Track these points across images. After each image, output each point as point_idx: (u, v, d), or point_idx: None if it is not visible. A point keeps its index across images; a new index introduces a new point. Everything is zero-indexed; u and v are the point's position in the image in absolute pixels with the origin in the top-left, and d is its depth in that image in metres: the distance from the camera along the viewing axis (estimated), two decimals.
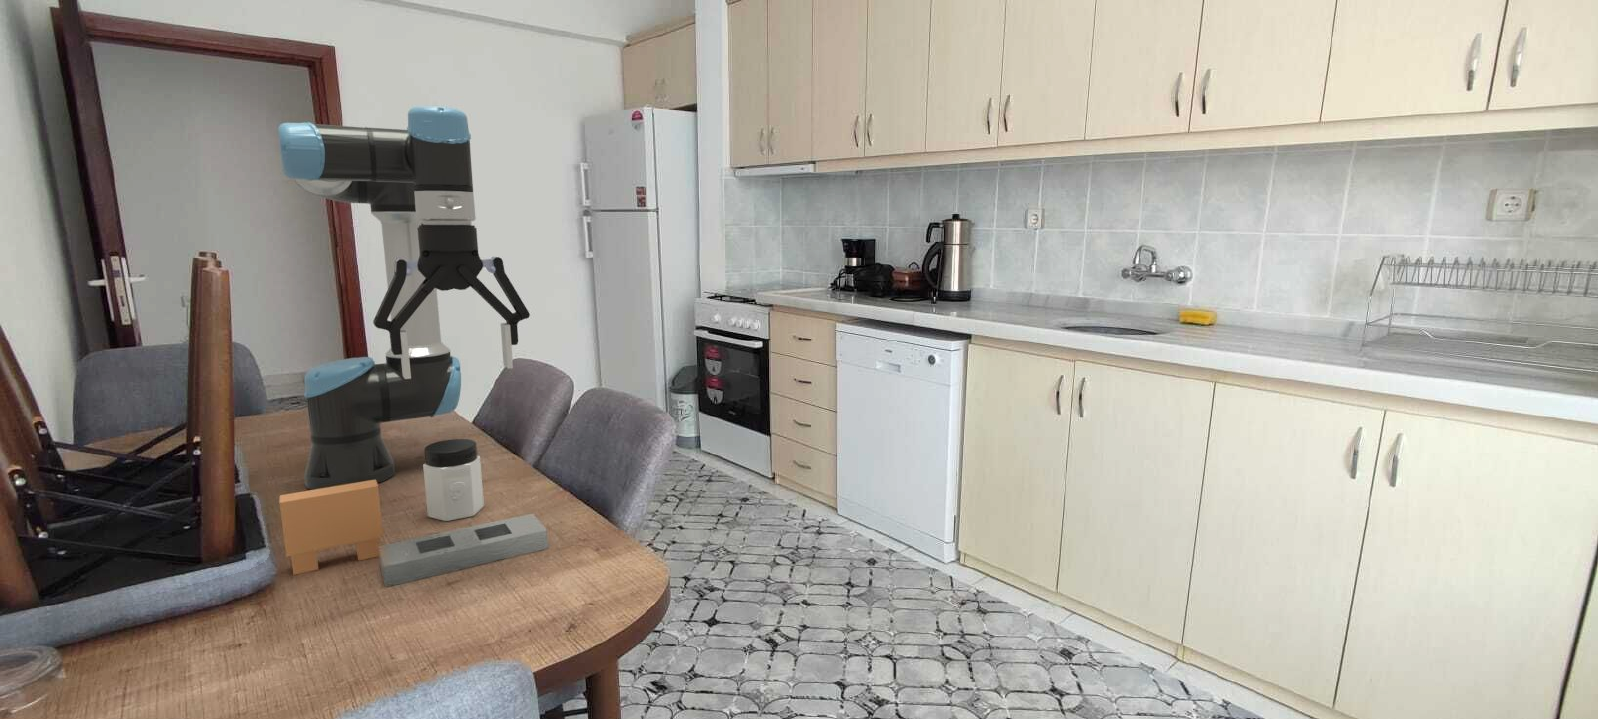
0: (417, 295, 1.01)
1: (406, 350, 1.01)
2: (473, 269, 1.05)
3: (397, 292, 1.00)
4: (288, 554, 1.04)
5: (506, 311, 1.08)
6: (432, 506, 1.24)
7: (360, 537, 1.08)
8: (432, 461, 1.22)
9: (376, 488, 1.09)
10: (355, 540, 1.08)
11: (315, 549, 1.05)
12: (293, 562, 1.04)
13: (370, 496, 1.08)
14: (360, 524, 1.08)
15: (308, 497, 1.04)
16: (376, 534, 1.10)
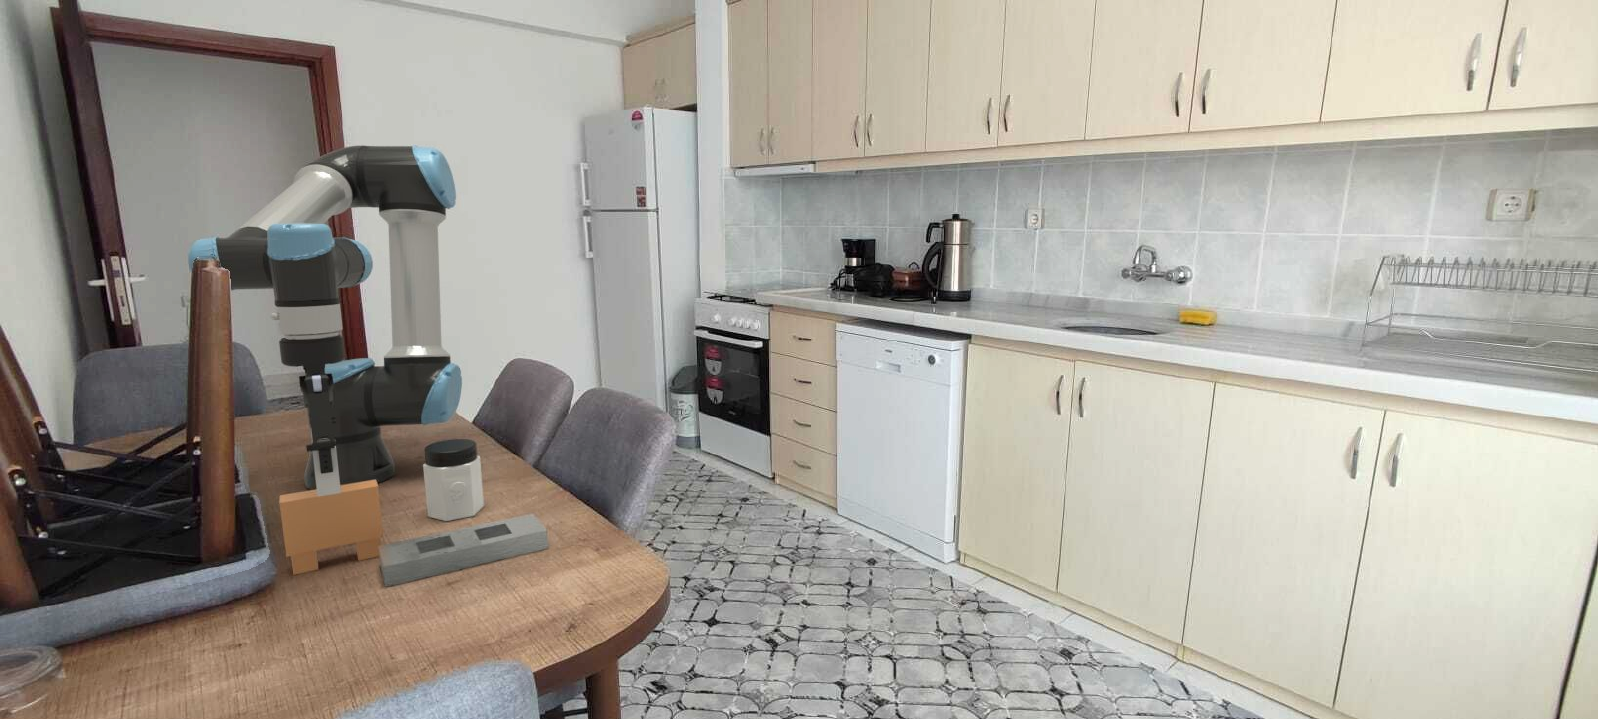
0: None
1: None
2: None
3: None
4: (288, 554, 1.04)
5: None
6: (432, 506, 1.24)
7: (360, 537, 1.08)
8: (432, 461, 1.22)
9: (376, 488, 1.09)
10: (355, 540, 1.08)
11: (315, 549, 1.05)
12: (293, 562, 1.04)
13: (370, 496, 1.08)
14: (360, 524, 1.08)
15: (308, 497, 1.04)
16: (376, 534, 1.10)
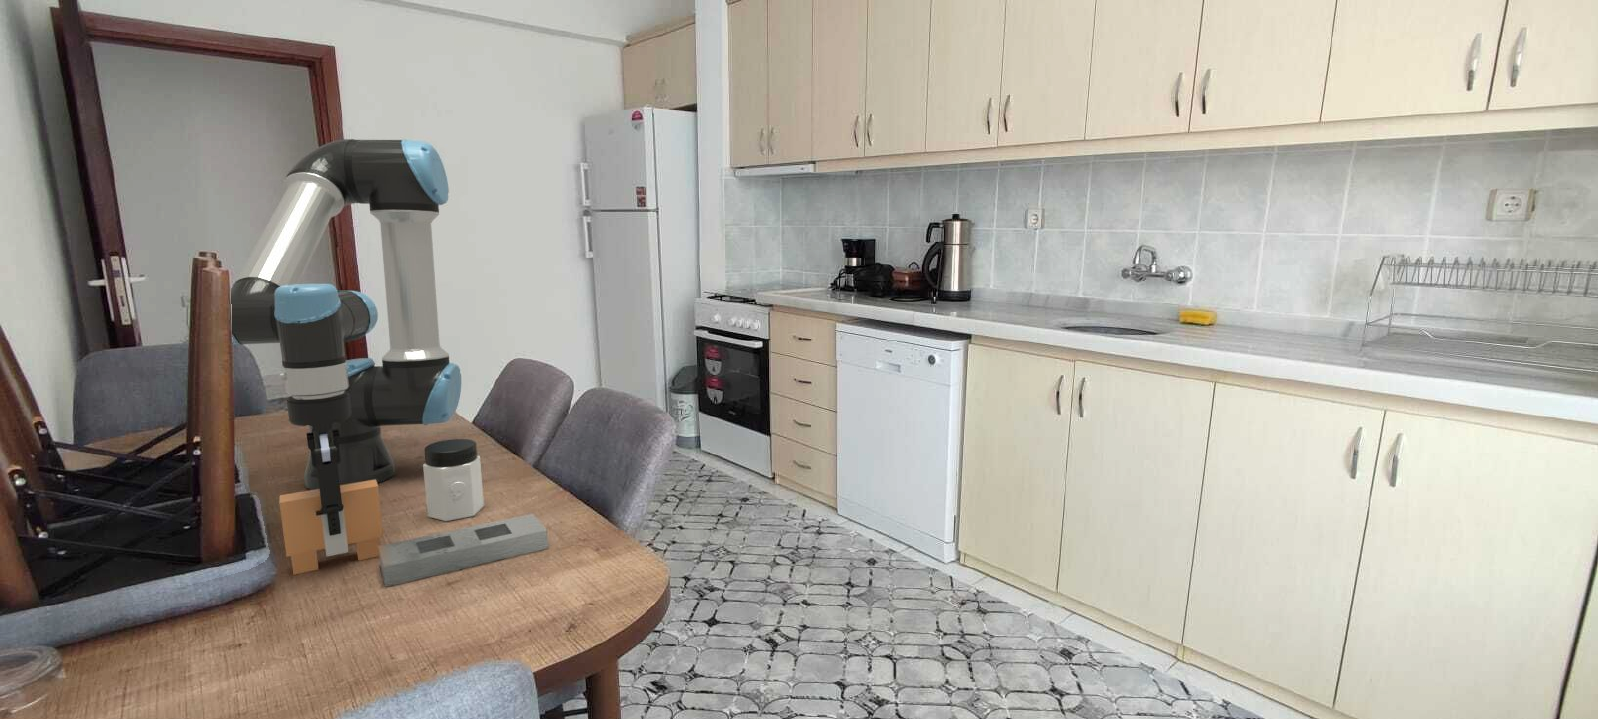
0: None
1: None
2: (314, 441, 1.03)
3: None
4: (288, 554, 1.04)
5: None
6: (432, 506, 1.24)
7: (360, 537, 1.08)
8: (432, 461, 1.22)
9: (376, 488, 1.09)
10: (355, 540, 1.08)
11: (315, 549, 1.05)
12: (293, 562, 1.04)
13: (370, 496, 1.08)
14: (360, 524, 1.08)
15: (308, 497, 1.04)
16: (376, 534, 1.10)
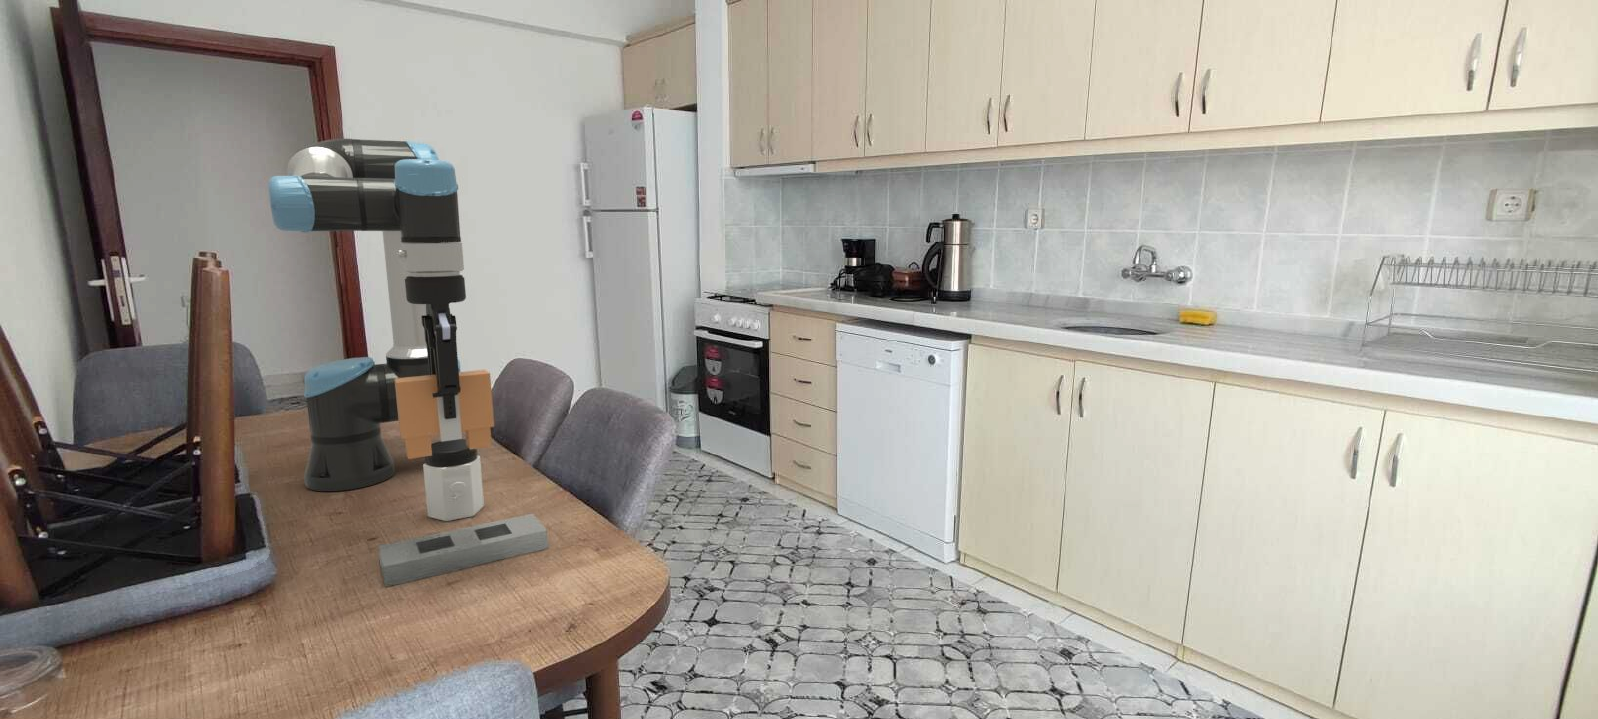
0: (429, 350, 1.06)
1: None
2: (432, 320, 1.01)
3: (427, 346, 1.08)
4: (404, 437, 1.02)
5: (437, 381, 1.02)
6: (432, 506, 1.24)
7: (472, 425, 1.06)
8: (432, 461, 1.22)
9: (488, 375, 1.07)
10: (467, 428, 1.06)
11: (429, 434, 1.04)
12: (408, 446, 1.02)
13: (482, 383, 1.06)
14: (473, 411, 1.06)
15: (423, 379, 1.02)
16: (487, 423, 1.08)
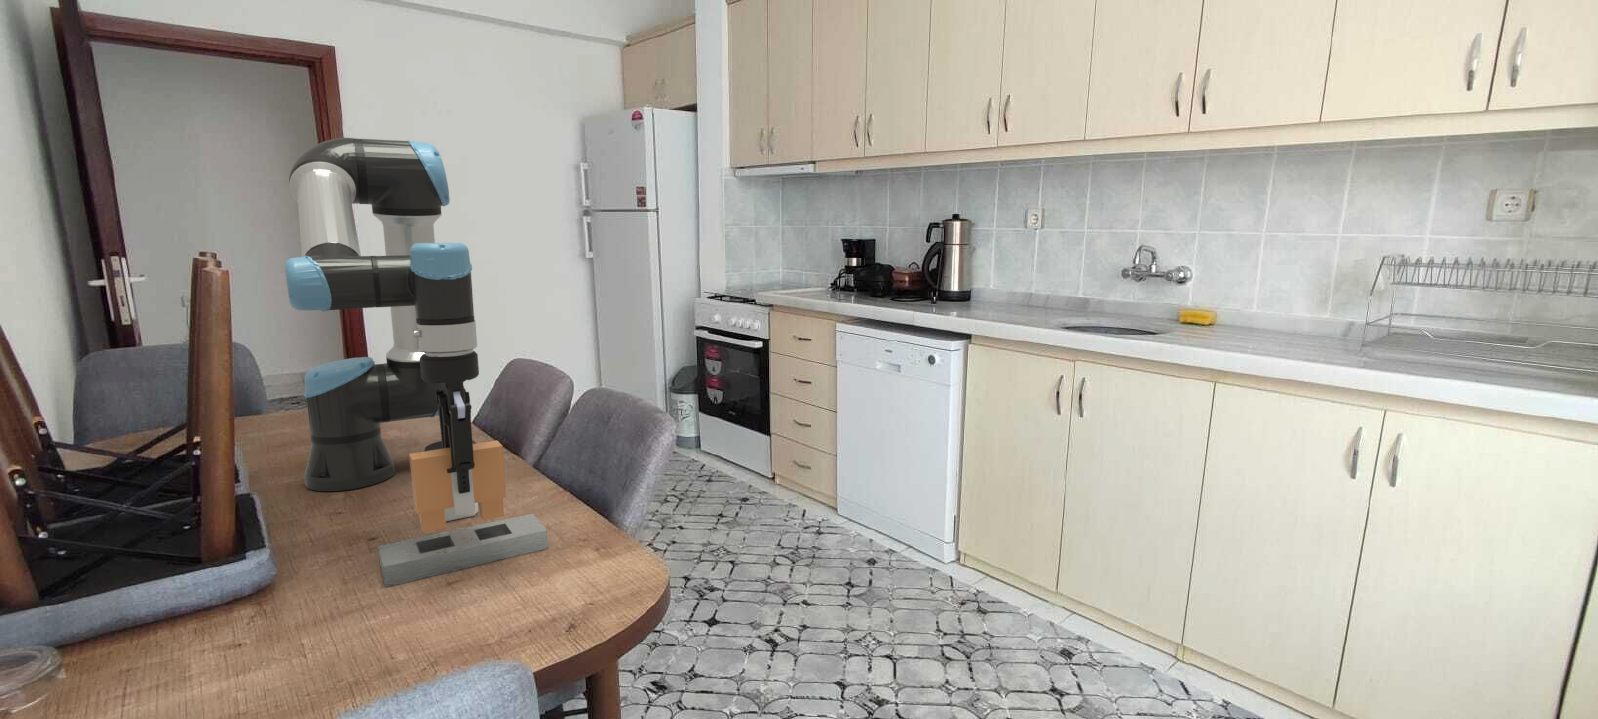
0: (443, 424, 1.08)
1: None
2: (446, 398, 1.03)
3: (440, 419, 1.10)
4: (419, 512, 1.04)
5: (451, 457, 1.04)
6: None
7: (485, 497, 1.09)
8: None
9: (501, 448, 1.09)
10: (480, 499, 1.09)
11: (444, 507, 1.06)
12: (423, 520, 1.05)
13: (495, 456, 1.09)
14: (486, 483, 1.09)
15: (438, 455, 1.05)
16: (500, 494, 1.10)
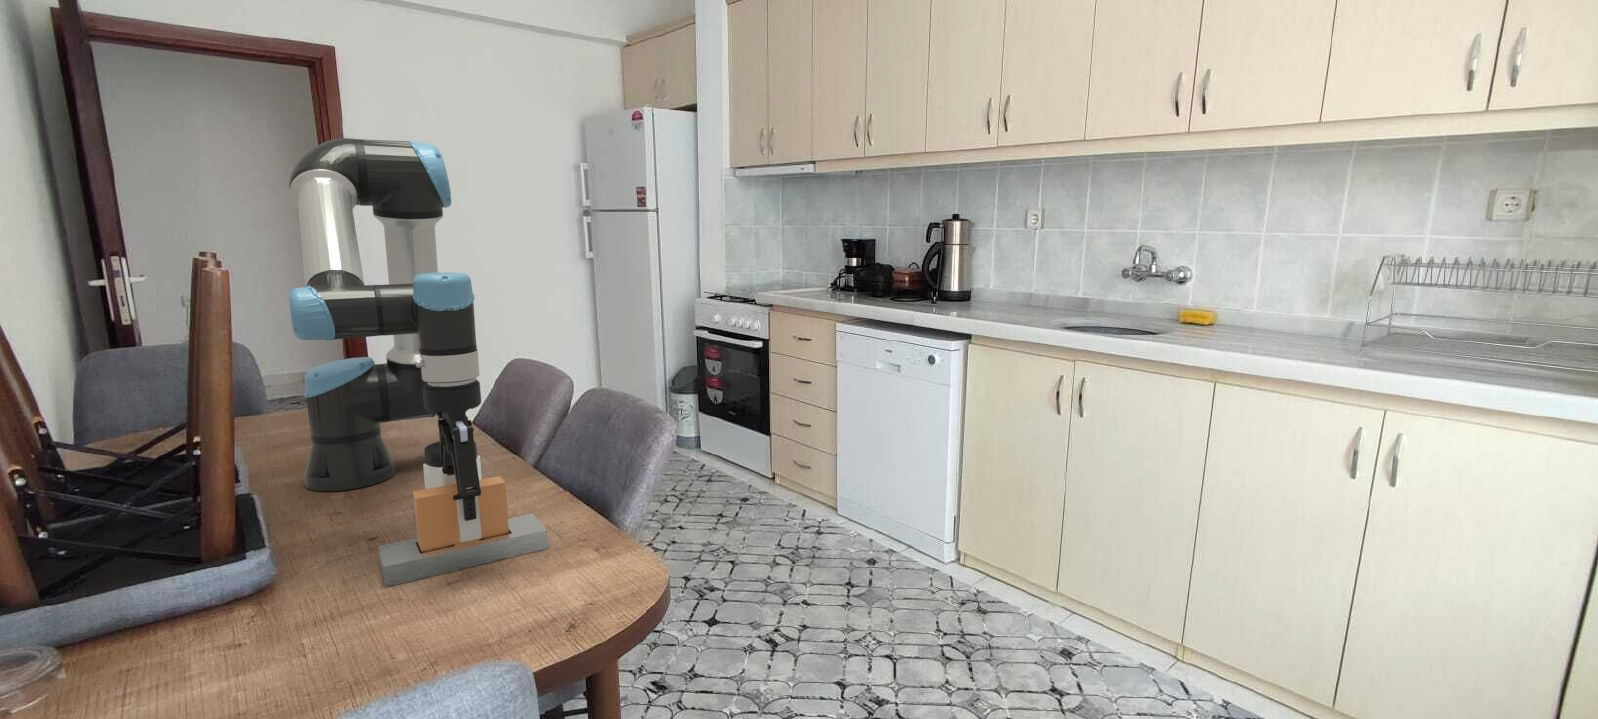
0: (443, 444, 1.10)
1: None
2: (449, 429, 1.04)
3: None
4: (423, 549, 1.05)
5: (457, 483, 1.03)
6: None
7: (488, 533, 1.10)
8: (432, 461, 1.22)
9: (503, 484, 1.10)
10: (483, 536, 1.10)
11: (447, 544, 1.07)
12: None
13: (497, 493, 1.10)
14: (488, 519, 1.10)
15: (441, 493, 1.06)
16: (502, 530, 1.11)
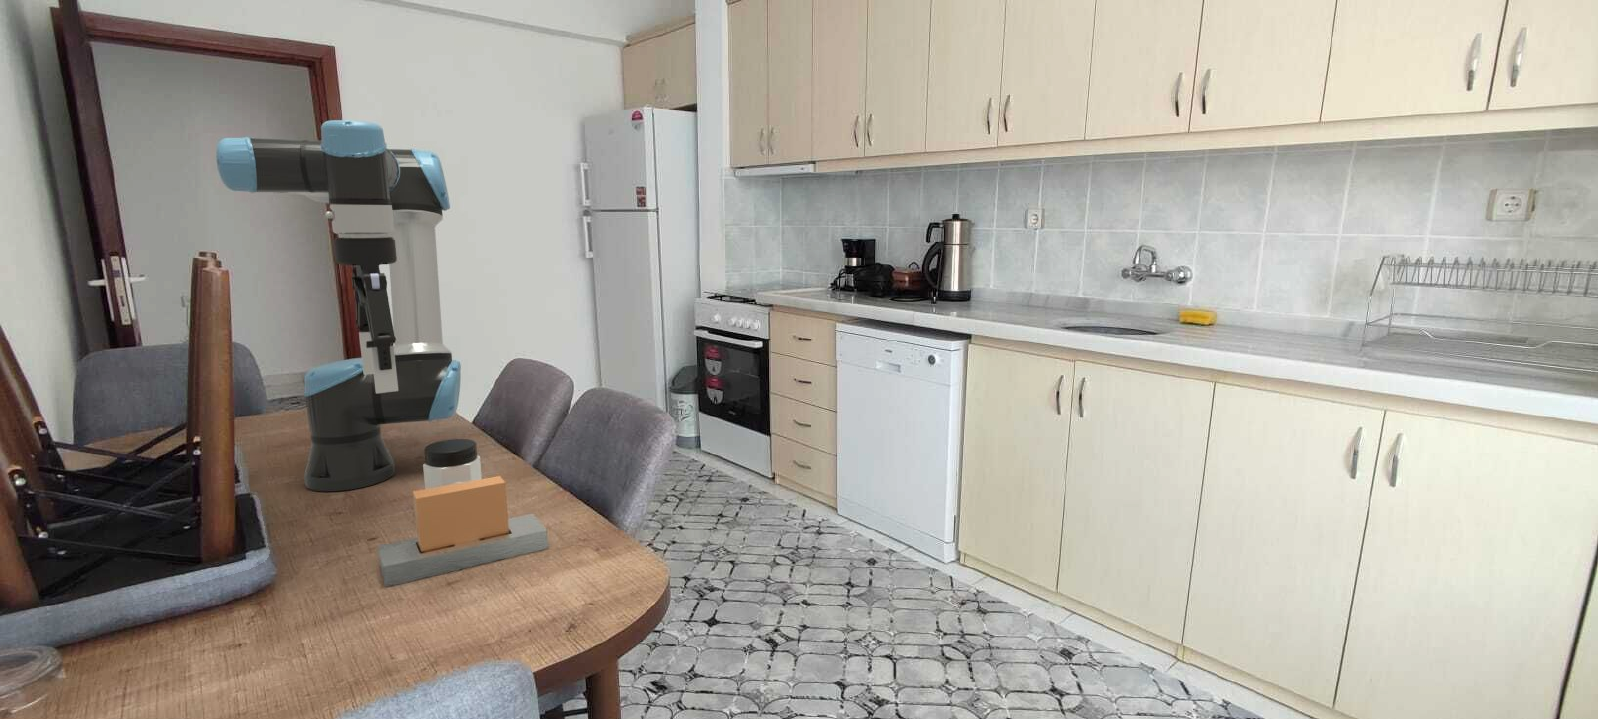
0: (358, 301, 1.08)
1: (361, 349, 1.12)
2: (362, 283, 1.02)
3: None
4: (423, 549, 1.05)
5: (370, 332, 1.00)
6: None
7: (488, 533, 1.10)
8: (432, 461, 1.22)
9: (503, 484, 1.10)
10: (483, 536, 1.10)
11: (447, 544, 1.07)
12: None
13: (497, 493, 1.10)
14: (488, 519, 1.10)
15: (441, 493, 1.06)
16: (502, 530, 1.11)
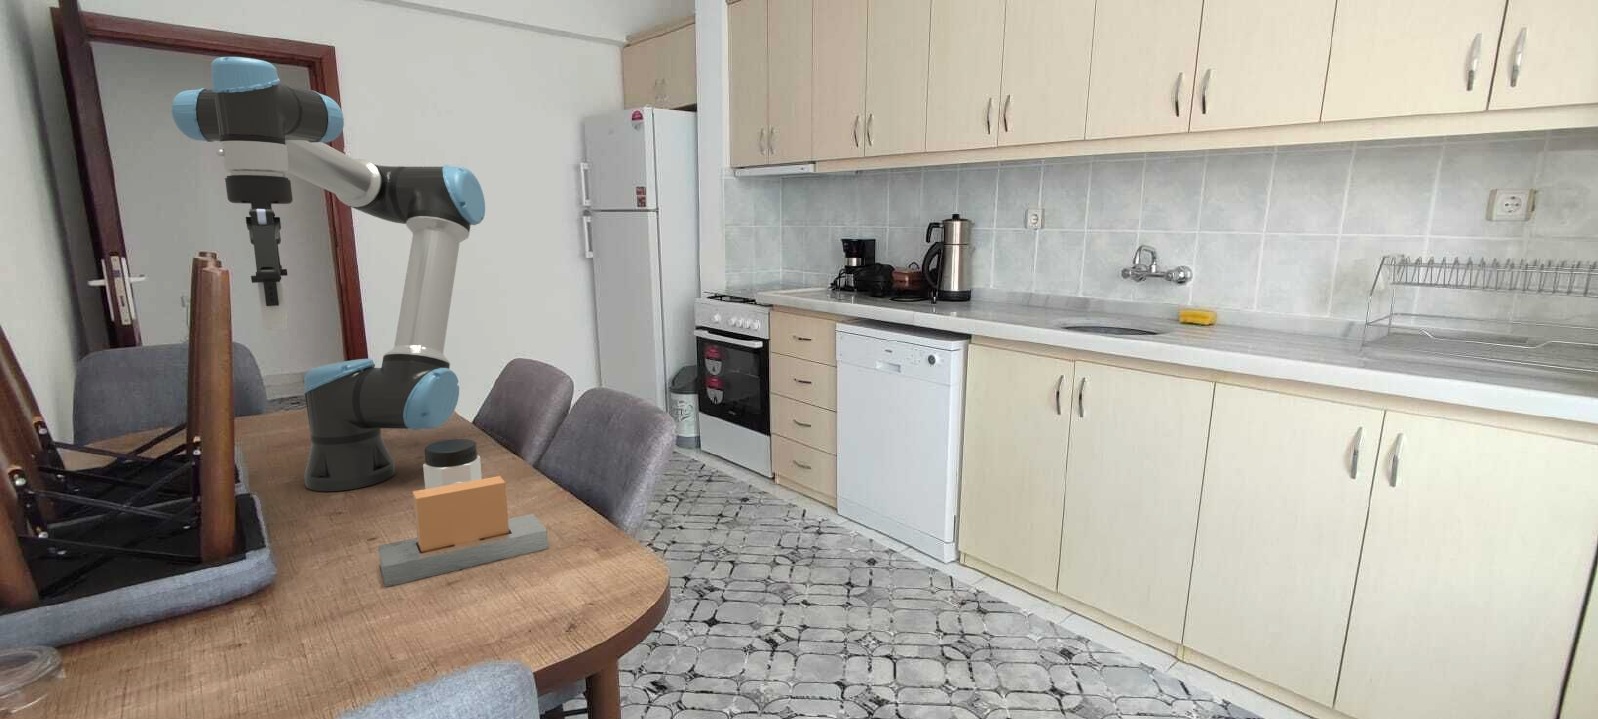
0: None
1: None
2: None
3: None
4: (423, 549, 1.05)
5: None
6: None
7: (488, 533, 1.10)
8: (432, 461, 1.22)
9: (503, 484, 1.10)
10: (483, 536, 1.10)
11: (447, 544, 1.07)
12: None
13: (497, 493, 1.10)
14: (488, 519, 1.10)
15: (441, 493, 1.06)
16: (502, 530, 1.11)
